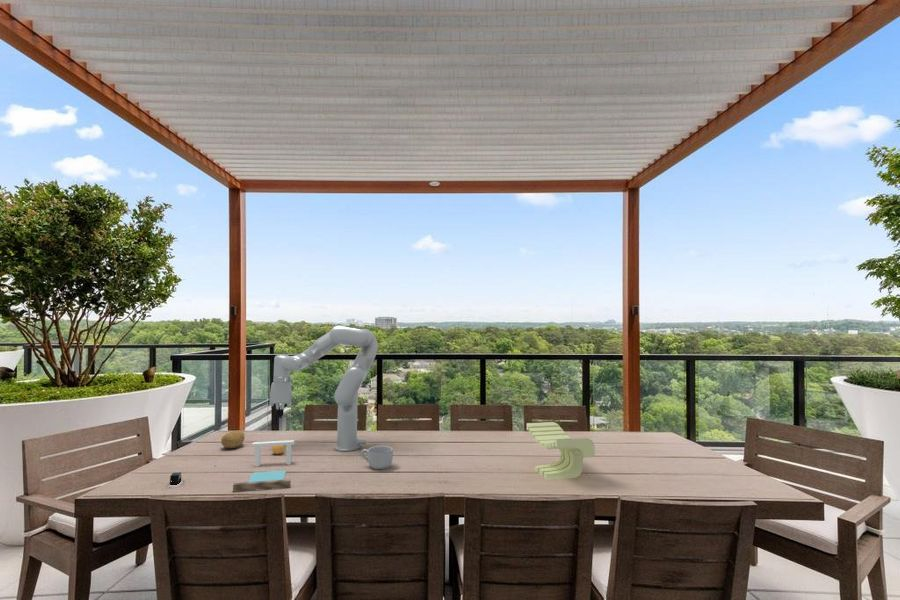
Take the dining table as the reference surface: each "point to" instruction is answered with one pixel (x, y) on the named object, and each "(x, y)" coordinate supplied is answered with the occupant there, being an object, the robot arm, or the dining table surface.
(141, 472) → the dining table surface
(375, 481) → the dining table surface
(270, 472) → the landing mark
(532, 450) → the dining table surface
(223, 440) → the potato
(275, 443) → the bridge
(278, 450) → the ball
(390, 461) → the teacup
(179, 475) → the black angular piece
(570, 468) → the green ribbed curved stand
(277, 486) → the stopper
